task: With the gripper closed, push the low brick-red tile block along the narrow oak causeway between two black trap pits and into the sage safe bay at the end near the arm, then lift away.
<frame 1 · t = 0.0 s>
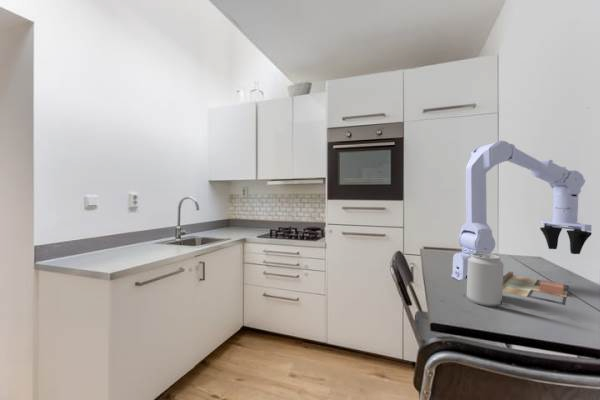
hand: (563, 251, 88), 10 cm above the table, fingers open, 7 cm apart
tile block: (551, 291, 75), point 1 cm above the table, touching trap board
trap board: (532, 292, 78), on the table
can: (483, 302, 70), on the table
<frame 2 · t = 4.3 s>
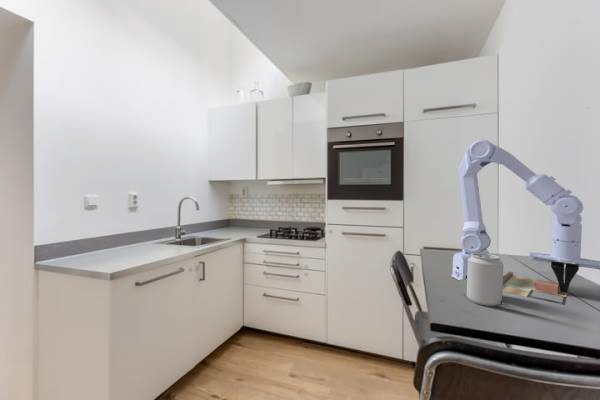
hand: (563, 291, 73), 2 cm above the table, fingers closed
tile block: (547, 290, 76), point 2 cm above the table, touching gripper, trap board
everything else where it was.
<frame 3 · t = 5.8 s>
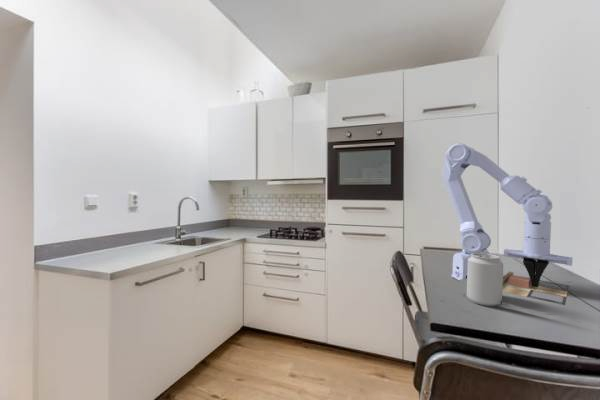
hand: (534, 286, 78), 2 cm above the table, fingers closed
tile block: (519, 284, 80), point 1 cm above the table, touching gripper, trap board
everything else where it was.
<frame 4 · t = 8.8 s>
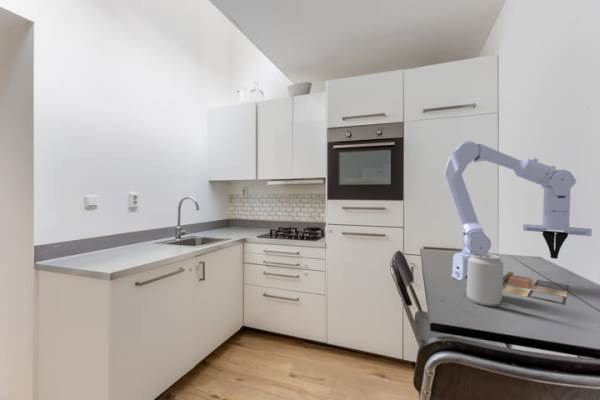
hand: (554, 257, 81), 9 cm above the table, fingers closed
tile block: (519, 284, 80), point 1 cm above the table, touching trap board
everything else where it was.
at the end: tile block 0.5 cm from the target spot on the trap board, point 1.5 cm above the trap board's base; tile block tilted 0° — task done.
